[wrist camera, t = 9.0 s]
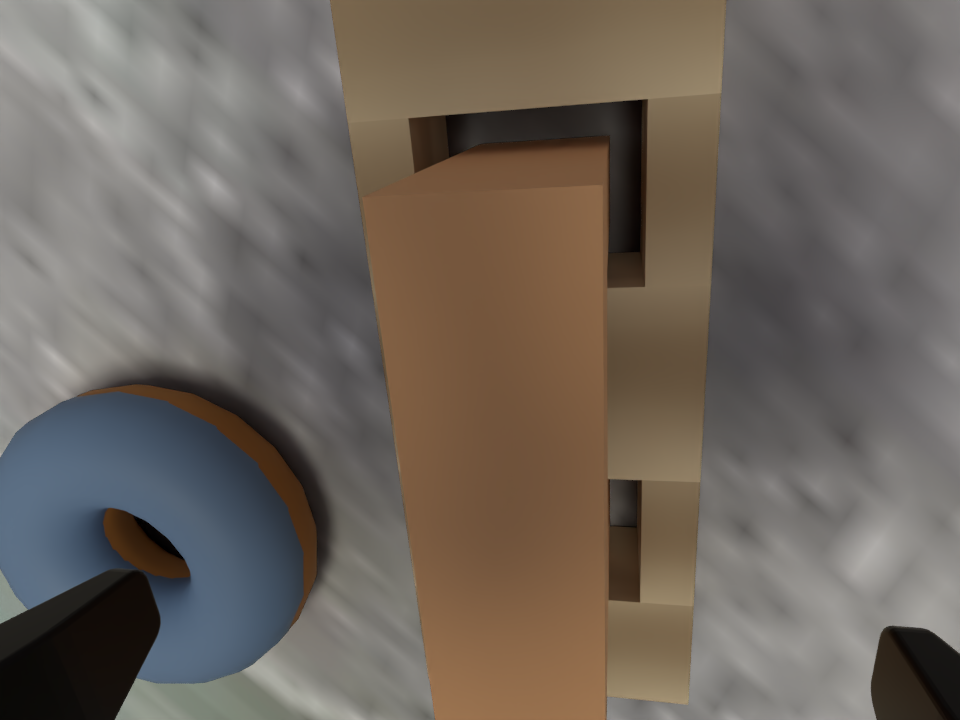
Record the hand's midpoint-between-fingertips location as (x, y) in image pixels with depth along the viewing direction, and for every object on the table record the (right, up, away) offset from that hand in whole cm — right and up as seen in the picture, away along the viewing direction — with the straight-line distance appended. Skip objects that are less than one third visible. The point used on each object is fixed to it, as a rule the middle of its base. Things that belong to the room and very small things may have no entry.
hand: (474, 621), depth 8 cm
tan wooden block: (+2, +4, +9) cm, 10 cm away
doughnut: (-9, -1, +14) cm, 17 cm away
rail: (+2, +4, +9) cm, 10 cm away
